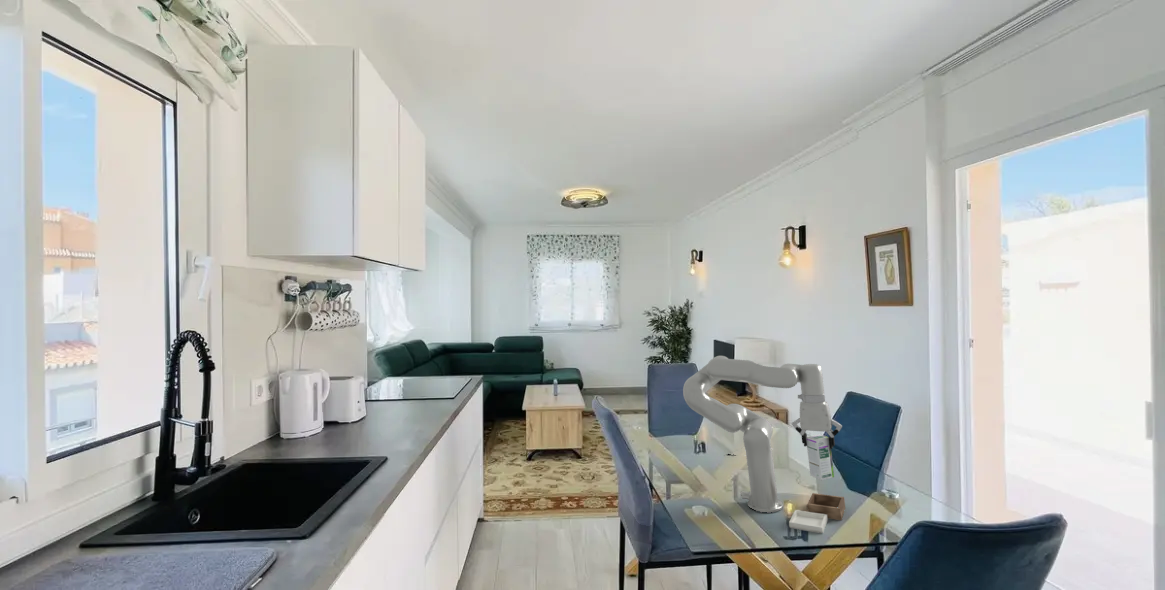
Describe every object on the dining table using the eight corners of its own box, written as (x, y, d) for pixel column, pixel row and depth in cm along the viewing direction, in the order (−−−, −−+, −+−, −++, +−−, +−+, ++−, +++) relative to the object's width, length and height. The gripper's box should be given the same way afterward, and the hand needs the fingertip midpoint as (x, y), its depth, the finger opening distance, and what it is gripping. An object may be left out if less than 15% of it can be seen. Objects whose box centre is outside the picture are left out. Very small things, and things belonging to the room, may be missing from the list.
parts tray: (789, 528, 164) (789, 522, 164) (796, 515, 173) (795, 509, 173) (822, 533, 158) (822, 527, 158) (827, 520, 167) (827, 514, 167)
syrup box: (821, 480, 170) (817, 440, 170) (809, 475, 175) (805, 435, 176) (834, 477, 171) (830, 437, 171) (822, 472, 177) (818, 433, 177)
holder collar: (808, 515, 172) (807, 504, 172) (813, 503, 180) (812, 493, 180) (841, 520, 165) (840, 508, 165) (845, 508, 174) (844, 497, 174)
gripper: (785, 399, 176) (790, 447, 175) (838, 401, 166) (844, 452, 165) (790, 395, 182) (795, 441, 182) (841, 397, 172) (846, 445, 171)
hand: (818, 446), depth 173 cm, fingers closed on syrup box, 8 cm apart
